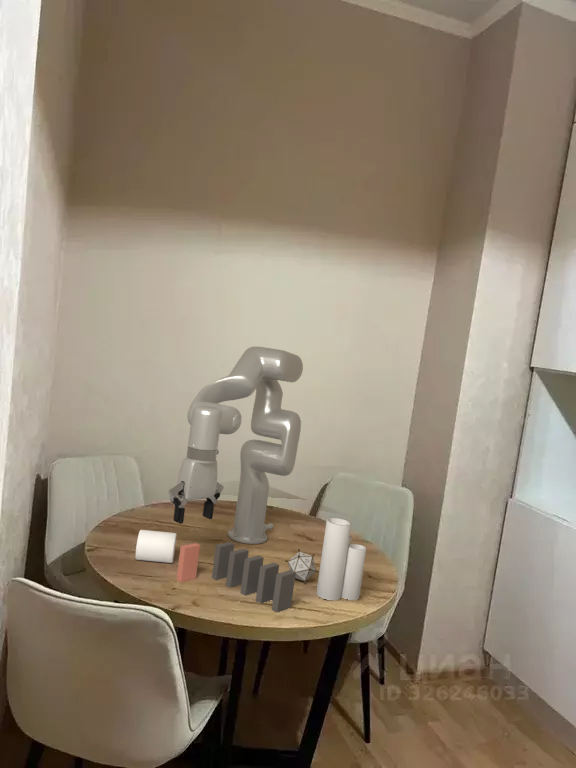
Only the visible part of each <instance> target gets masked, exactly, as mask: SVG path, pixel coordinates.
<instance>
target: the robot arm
mask: <svg viewBox="0 0 576 768" xmlns="http://www.w3.org/2000/svg"><path fill="white" fill-rule="evenodd" d="M303 370H304V364H303V360H302V358H301V357H300V356H299V355H297V354H294V353H292V352H289V351H286V350H283V349H277V348H271V347H263V346H251V347H248V348H247V349H246V350H245V351H244V352H243V353H242V355H241V356H240V358H239V359H238V361H237V362H236V364H235V365H234V367H233V368H232V369H231V371H230V373H229V374H228V375H227V376H224V377H221V378H219V379H217V380H214V381H212V382H211V383H209V384H207V385H205V386H203V387H202V389H200V391H199V392H198V393H197V394H196V396H195V397H194V399H193V401H192V402H191V404H190V405H189V408H188V411H187V421H188V423H189V425H190V427H189V428H190V429H189V434H188V436H189V437H188V442H187V443H188V444H187V450H186V458H183V460H182V463H181V465H180V467H179V468H180V469H179V472H178V476H177V482H176V485H174V486H173V487H172V488H170V489H169V490H168V494H169V497H170V498H169V499H170V501H171V502H172V505H173V507H174V512H173V518H172V521H174V522H176V523H177V524H181V525H182V524H184V519H185V513H186V507H185V505H186V504H187V503H188V501H196V500H202V499H203V500H204V499H205V501H204V503H203V511H202V516H203V517H204V518H206V519H208V520H213V515H214V507H215V505H216V504H217V502H218V501H217V500H218V499H219V498H220V497H221V493H222V491H223V490H224V485H223V484H221V483H219V482H218V461H217V455H219V452H220V451H219V449H218V446H219V441H220V435H232V434H234V433H236V432H237V431H238V430H239V429H240V427H241V424H242V422H243V421H242V420H243V419H242V415H241V412H240V411H239V410H238V409H237V408H236V407H233V406H230V405H226V404H220V403H224V402H229V401H235V400H241V399H246V398H249V397H250V396H252V395H253V394H254V392H255V399H254V402H253V408H252V414H251V418H250V419H251V420H250V430H251V431H252V433H253V434H255V435H256V436H257V435H258V436H259V437H263V438H270V439H275V440H280V442H281V444H280V443H276V442H271V441H266V440H261V439H248V440H247V441H245V442H244V443H243V444H242V446H241V448H240V453H239V455H240V456H239V457H240V478H239V483H238V485H239V486H238V494H237V502H236V508H235V509H236V510H235V515H234V521H233V522H234V525H233V528H231V529H229V530H228V531H227V536H228V537H229V539H231V540H232V541H234V542H237V543H241V544H246V545H247V544H248V545H249V544H250V545H259V544H263V543H266V542H267V540H268V535H267V534H266V532H267V530H272V529H273V528H274V524H273V523H272V522H271V523H265V521H266V514H267V507H268V498H269V492H270V483H269V479H268V477H267V475H266V473H267V474H271V475H276V476H280V477H286V476H289V475H291V473H292V472H293V471H294V467H295V464H296V460H297V459H296V458H297V453H298V448H299V447H298V446H299V441H300V436H301V435H300V434H301V428H302V421H301V417H300V415H299V414H298V413H297V412H295V411H293V410H289V409H288V410H287V409H283V408H282V401H283V394H284V393H283V388H282V386H281V384H280V382H281V381H282V382H287V383H295V382H297V381H298V380H299V379H300V378H301V376H302V375H303ZM279 381H280V382H279Z"/></svg>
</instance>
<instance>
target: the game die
mask: <svg viewBox="0 0 576 768" xmlns="http://www.w3.org/2000/svg"><path fill="white" fill-rule="evenodd" d="M297 551H298V552H296V553H295V554H294V555H293V556H292V557H291V558H290V559H288V560H287V559H285V560H284V561H285V563H287V566H288V569H289V570H291V571H293V572H295V573H296V575H295V580H296V579H297V580H299V581H302V582H303V584H307V581H308V579H310V578H311V577H312V576H313V575H314V574H315V573H319V570H317V568H316V563H315V560H314V557H315V556H316V555H315V554H316V553H313V554H312V555H311V554H309V553H305V552H302V551H301V550H300V548H297ZM289 570H288V571H289Z"/></svg>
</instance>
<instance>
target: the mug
mask: <svg viewBox="0 0 576 768" xmlns="http://www.w3.org/2000/svg"><path fill="white" fill-rule="evenodd" d="M176 544H177V533H176V532H169V531H168V532H167V531H157V530H148V529H140V530H139V532H138V534H137V540H136V546H135V554H134V555H135V560H138V561H147V562H148V561H149V562H158V563H169V564H172V563H173V562H174V558H175V551H176Z"/></svg>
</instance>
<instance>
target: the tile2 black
mask: <svg viewBox="0 0 576 768" xmlns="http://www.w3.org/2000/svg"><path fill="white" fill-rule="evenodd" d="M214 549H215V551H214V557H213V566H212V574H211V579H214V580H215V581H218V580H221V579H225V578H226V579H227V572H228V564H229V556H230V552H231V551H235V550H234V549H235V543H233V542H231V541H228V542H222V543H219V544H215V548H214Z"/></svg>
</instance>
